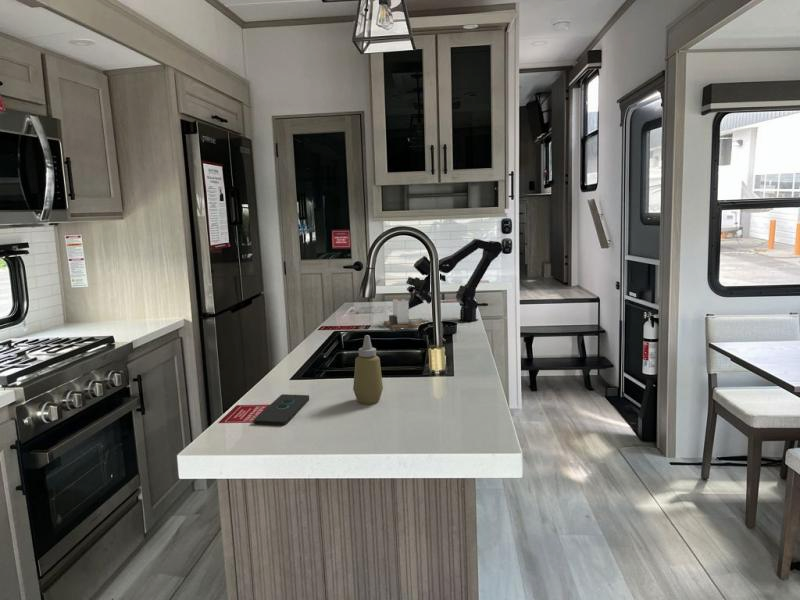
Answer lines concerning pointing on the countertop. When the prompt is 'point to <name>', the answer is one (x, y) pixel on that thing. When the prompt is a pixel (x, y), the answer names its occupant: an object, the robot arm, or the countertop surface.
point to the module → (401, 310)
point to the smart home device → (281, 410)
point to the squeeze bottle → (367, 374)
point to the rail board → (412, 324)
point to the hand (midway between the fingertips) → (406, 308)
